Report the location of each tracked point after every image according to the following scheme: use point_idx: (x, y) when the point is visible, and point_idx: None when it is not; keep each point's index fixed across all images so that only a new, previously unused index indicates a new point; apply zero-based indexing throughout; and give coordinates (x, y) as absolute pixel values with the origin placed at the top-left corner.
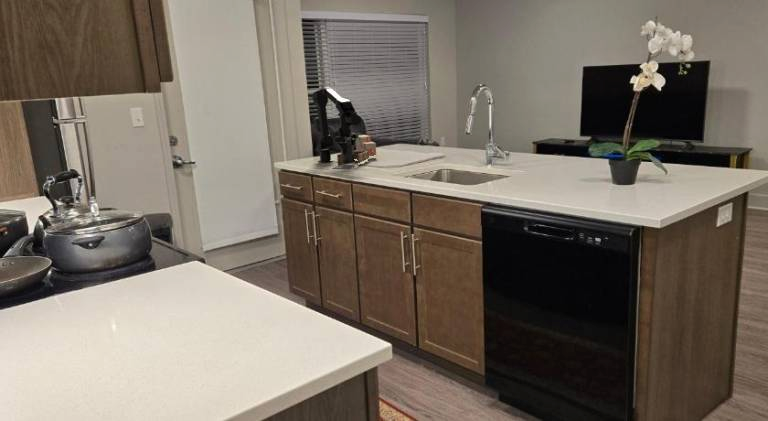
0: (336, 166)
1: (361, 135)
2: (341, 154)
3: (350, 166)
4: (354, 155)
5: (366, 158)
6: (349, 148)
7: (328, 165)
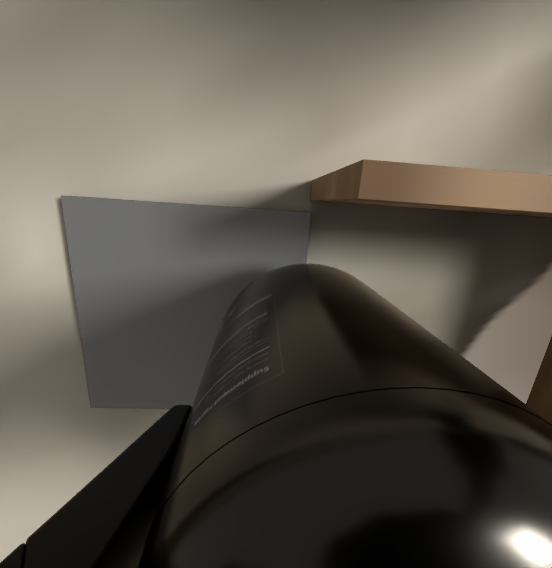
0: (193, 208)
1: None
2: (253, 321)
3: None
4: None
5: None
6: None
7: (346, 6)
